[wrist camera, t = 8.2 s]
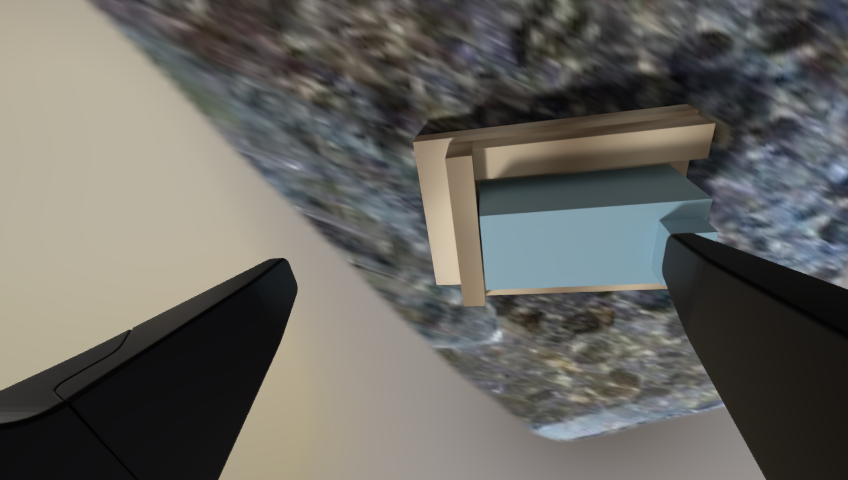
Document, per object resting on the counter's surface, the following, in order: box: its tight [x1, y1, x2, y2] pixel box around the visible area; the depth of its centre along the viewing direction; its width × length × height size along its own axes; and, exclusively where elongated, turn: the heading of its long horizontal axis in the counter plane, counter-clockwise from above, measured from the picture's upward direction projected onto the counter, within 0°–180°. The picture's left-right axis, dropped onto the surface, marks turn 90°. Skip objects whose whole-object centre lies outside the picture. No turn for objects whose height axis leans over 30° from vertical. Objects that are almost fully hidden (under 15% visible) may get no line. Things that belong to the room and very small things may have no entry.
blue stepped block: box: [480, 164, 718, 290], centre depth 18 cm, size 9×4×5 cm, turn 99°
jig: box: [413, 104, 716, 306], centre depth 20 cm, size 13×9×4 cm
